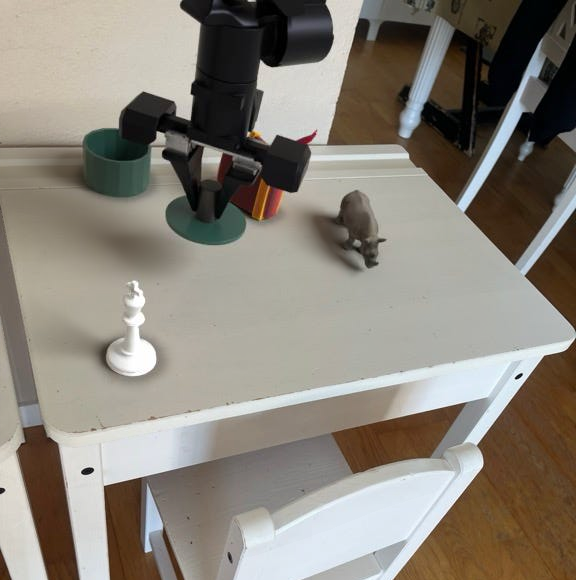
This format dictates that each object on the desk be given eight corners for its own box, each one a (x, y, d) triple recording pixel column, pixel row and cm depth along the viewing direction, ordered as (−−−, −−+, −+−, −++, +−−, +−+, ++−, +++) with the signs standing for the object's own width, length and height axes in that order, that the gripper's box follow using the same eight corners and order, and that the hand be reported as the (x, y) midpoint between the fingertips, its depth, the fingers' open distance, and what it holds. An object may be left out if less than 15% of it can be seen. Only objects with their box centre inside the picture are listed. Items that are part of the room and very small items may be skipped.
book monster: (206, 189, 86) (270, 177, 93) (247, 227, 82) (310, 210, 89) (221, 115, 78) (290, 108, 85) (266, 153, 75) (333, 142, 82)
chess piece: (130, 384, 61) (133, 308, 53) (95, 356, 62) (94, 279, 55) (166, 360, 64) (174, 285, 56) (132, 334, 65) (135, 257, 58)
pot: (71, 171, 82) (69, 136, 78) (123, 157, 87) (124, 122, 83) (110, 204, 79) (110, 168, 75) (162, 187, 84) (164, 153, 80)
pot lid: (148, 215, 69) (150, 174, 65) (208, 194, 74) (213, 155, 70) (202, 260, 66) (208, 219, 62) (260, 234, 71) (269, 195, 67)
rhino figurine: (354, 281, 79) (368, 243, 75) (329, 217, 88) (341, 180, 84) (383, 282, 80) (399, 245, 76) (356, 220, 89) (369, 182, 85)
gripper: (337, 70, 63) (302, 203, 74) (162, 13, 63) (153, 155, 74) (317, 113, 55) (280, 254, 67) (117, 49, 55) (115, 201, 67)
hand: (207, 213), depth 69 cm, fingers closed on pot lid, 2 cm apart
